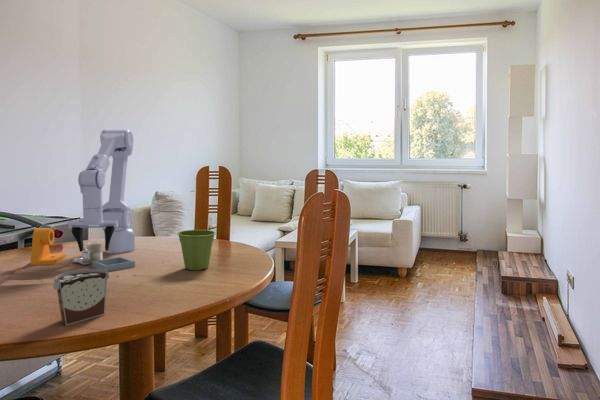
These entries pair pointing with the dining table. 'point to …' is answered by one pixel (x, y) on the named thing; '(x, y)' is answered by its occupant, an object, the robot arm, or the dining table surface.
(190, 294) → the dining table surface
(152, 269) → the dining table surface
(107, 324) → the dining table surface
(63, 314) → the food container
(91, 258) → the block
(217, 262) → the dining table surface
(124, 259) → the tray
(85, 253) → the crank
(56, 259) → the bracket
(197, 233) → the plant pot
